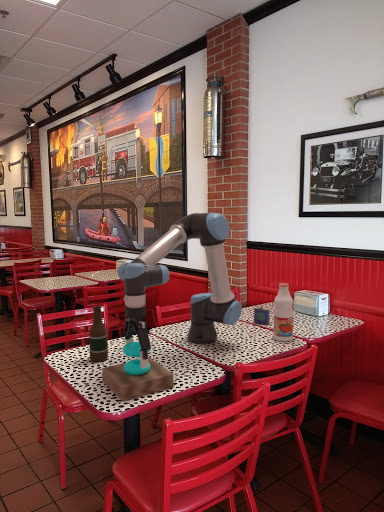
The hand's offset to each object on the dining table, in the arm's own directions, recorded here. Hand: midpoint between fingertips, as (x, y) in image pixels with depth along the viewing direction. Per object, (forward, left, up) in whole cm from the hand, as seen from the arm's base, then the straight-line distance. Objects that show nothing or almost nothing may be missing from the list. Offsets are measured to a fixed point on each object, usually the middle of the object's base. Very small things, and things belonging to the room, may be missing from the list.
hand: (136, 361), depth 146 cm
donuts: (0, 0, -4) cm, 4 cm away
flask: (-92, -34, -9) cm, 98 cm away
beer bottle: (+4, -32, -9) cm, 33 cm away
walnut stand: (0, 0, -9) cm, 9 cm away
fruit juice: (-83, -8, -9) cm, 84 cm away
